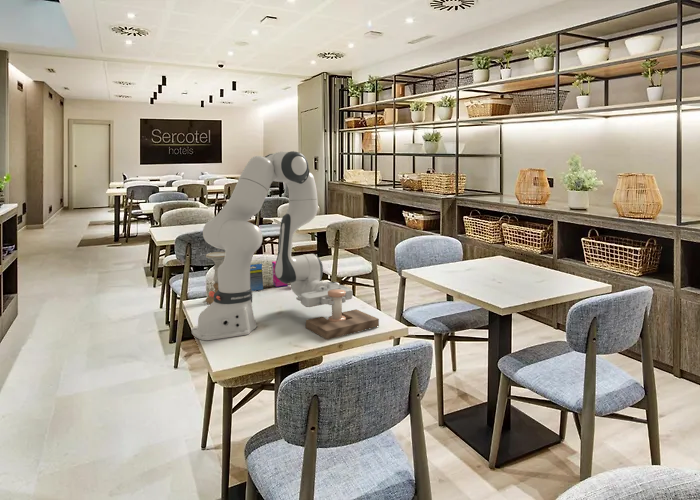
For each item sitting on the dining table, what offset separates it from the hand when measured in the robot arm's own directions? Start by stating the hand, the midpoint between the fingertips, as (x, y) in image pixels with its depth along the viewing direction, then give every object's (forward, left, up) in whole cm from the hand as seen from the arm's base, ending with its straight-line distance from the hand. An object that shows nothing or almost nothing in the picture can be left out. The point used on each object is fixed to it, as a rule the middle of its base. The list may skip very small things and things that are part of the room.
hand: (338, 301), depth 186 cm
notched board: (0, -3, -9) cm, 9 cm away
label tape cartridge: (-5, +63, -9) cm, 64 cm away
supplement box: (+9, +63, -9) cm, 65 cm away
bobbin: (0, +1, -7) cm, 8 cm away
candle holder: (-23, +55, -9) cm, 61 cm away
